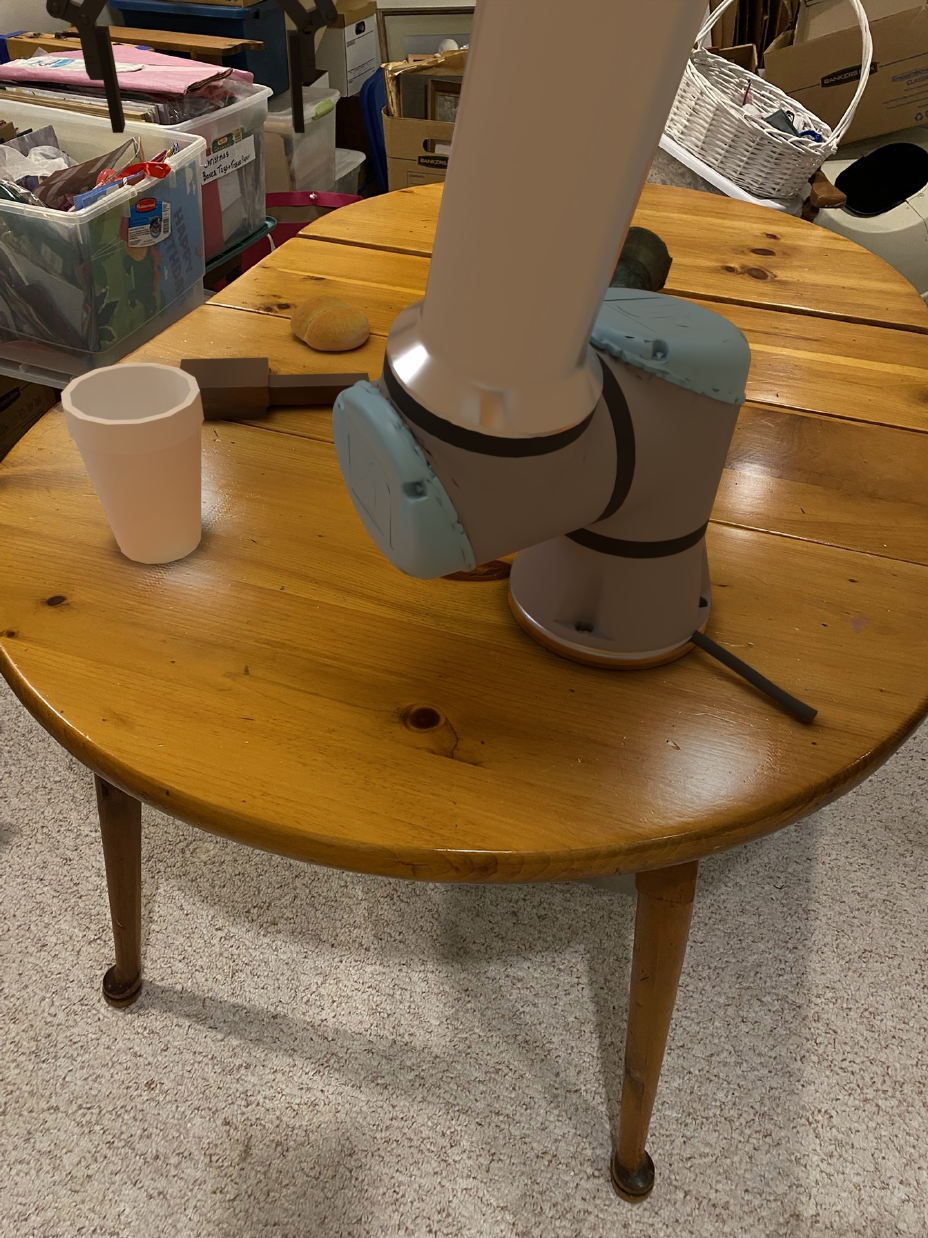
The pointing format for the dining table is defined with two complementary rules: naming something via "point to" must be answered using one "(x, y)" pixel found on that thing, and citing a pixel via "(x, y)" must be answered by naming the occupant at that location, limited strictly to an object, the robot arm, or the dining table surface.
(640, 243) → the carnation
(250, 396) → the brush
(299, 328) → the bread roll
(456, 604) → the dining table surface
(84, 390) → the foam cup
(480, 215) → the robot arm
